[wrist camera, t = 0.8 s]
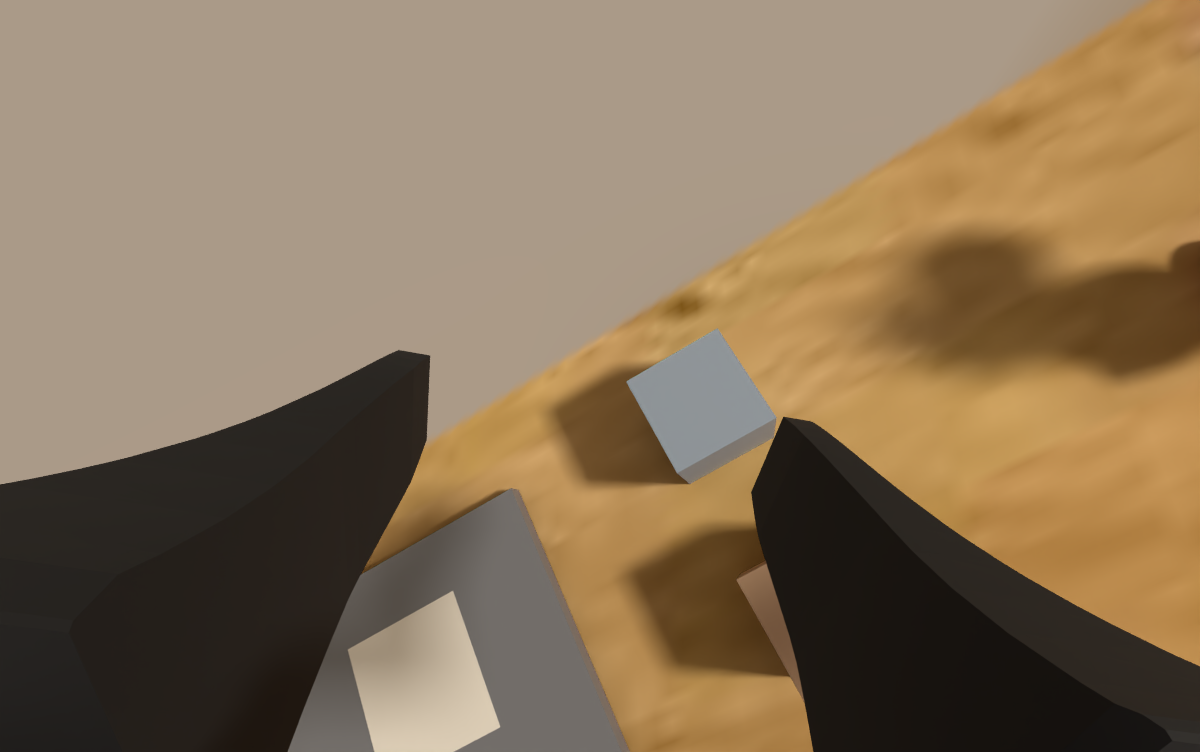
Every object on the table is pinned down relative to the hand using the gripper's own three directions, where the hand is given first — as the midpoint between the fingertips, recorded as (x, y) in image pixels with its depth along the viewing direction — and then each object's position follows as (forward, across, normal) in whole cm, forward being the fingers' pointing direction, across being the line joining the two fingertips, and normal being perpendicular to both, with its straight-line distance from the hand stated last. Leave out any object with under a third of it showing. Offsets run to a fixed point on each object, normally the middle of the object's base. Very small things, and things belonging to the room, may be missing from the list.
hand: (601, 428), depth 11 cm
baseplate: (+4, +4, +19) cm, 20 cm away
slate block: (+11, -6, +6) cm, 14 cm away
